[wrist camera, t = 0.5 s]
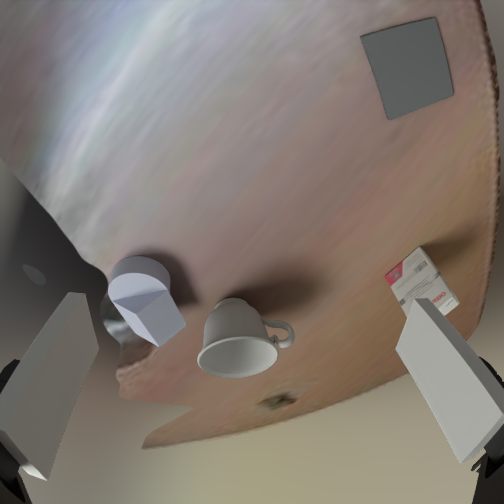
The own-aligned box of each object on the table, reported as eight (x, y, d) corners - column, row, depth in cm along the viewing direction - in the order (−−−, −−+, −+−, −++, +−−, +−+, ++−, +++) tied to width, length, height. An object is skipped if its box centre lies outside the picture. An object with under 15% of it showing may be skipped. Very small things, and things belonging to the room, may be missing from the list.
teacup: (290, 313, 55) (304, 361, 48) (212, 336, 57) (216, 384, 49) (274, 268, 47) (288, 322, 40) (183, 297, 49) (183, 351, 41)
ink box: (394, 285, 55) (421, 335, 46) (382, 275, 53) (411, 328, 44) (429, 256, 51) (461, 304, 42) (419, 244, 49) (454, 294, 40)
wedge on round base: (186, 308, 51) (157, 250, 42) (187, 342, 46) (153, 286, 37) (137, 317, 51) (102, 263, 42) (134, 350, 46) (92, 298, 37)
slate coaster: (359, 36, 27) (362, 37, 26) (432, 17, 24) (435, 17, 24) (387, 119, 33) (389, 120, 33) (450, 94, 31) (453, 95, 31)
